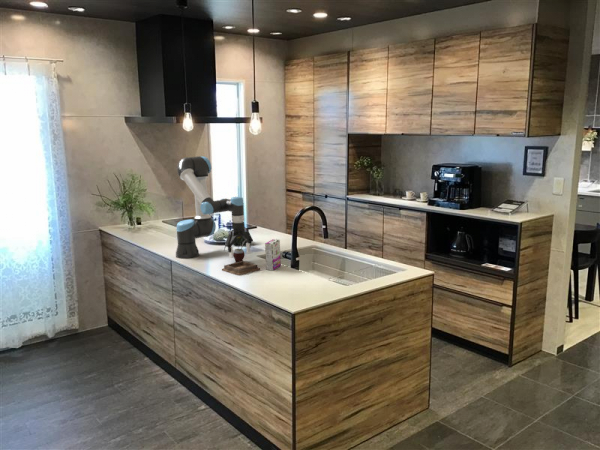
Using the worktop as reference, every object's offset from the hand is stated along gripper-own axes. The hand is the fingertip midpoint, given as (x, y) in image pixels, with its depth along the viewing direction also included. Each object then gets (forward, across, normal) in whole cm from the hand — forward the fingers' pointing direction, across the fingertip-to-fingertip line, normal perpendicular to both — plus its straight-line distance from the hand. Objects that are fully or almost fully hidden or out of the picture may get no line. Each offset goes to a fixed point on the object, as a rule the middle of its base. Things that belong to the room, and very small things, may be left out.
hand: (239, 255), depth 324 cm
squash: (+4, +31, +40) cm, 51 cm away
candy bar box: (+5, +5, -26) cm, 27 cm away
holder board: (+5, -11, -15) cm, 19 cm away
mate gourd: (+5, 0, 0) cm, 5 cm away
